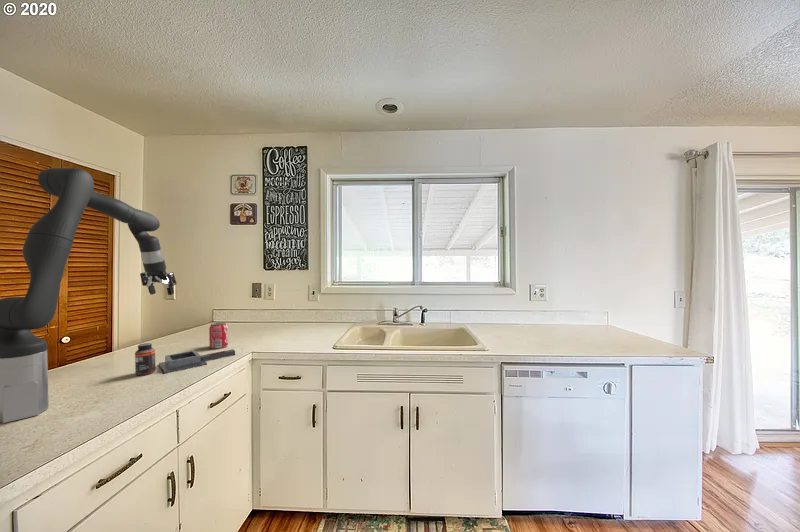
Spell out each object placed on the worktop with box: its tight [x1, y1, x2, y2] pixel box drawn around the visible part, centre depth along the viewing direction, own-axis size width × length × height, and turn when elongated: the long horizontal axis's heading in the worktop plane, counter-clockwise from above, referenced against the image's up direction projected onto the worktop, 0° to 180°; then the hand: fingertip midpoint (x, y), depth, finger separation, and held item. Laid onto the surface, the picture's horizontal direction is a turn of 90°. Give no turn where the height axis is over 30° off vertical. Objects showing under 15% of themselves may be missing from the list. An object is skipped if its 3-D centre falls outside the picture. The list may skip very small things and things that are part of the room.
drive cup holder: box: [158, 349, 236, 375], centre depth 129 cm, size 14×26×4 cm, turn 136°
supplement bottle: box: [134, 342, 156, 377], centre depth 116 cm, size 6×6×11 cm
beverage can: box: [208, 321, 229, 350], centre depth 150 cm, size 8×8×12 cm
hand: (162, 294), depth 137 cm, fingers open, 8 cm apart
